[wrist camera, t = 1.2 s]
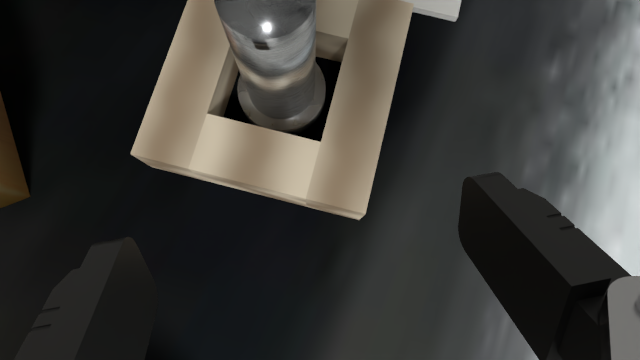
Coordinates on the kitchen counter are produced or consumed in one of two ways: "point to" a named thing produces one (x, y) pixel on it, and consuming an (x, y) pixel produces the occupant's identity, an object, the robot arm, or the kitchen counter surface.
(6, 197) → the bread
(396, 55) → the frame
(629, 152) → the kitchen counter surface
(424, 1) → the grey rubber pad
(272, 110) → the steel plug
